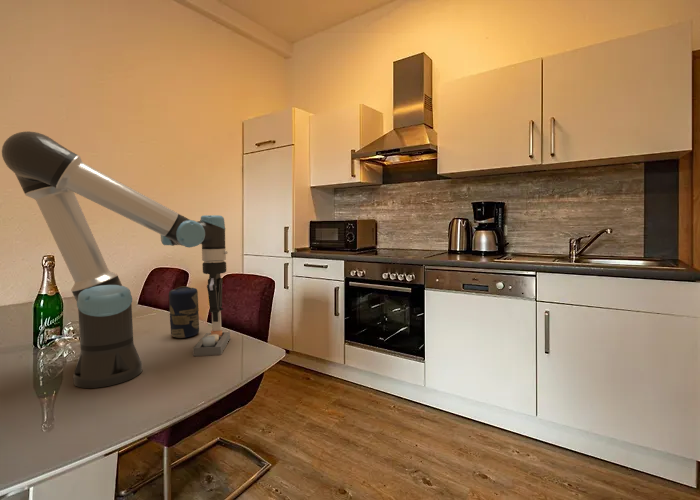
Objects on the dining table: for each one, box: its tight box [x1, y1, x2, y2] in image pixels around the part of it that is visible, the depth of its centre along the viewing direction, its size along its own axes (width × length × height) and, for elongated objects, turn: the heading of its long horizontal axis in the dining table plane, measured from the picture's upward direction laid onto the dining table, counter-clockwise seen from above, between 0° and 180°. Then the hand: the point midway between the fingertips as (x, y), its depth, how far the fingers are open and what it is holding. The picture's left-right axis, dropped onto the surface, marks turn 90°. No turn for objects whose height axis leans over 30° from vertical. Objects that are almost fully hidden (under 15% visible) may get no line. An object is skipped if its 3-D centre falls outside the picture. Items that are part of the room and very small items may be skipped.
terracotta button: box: [210, 329, 223, 336], centre depth 125 cm, size 4×4×2 cm
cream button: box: [208, 334, 219, 341], centre depth 120 cm, size 4×4×2 cm
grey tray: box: [192, 331, 231, 357], centre depth 120 cm, size 16×8×2 cm, turn 8°
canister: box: [168, 285, 200, 339], centre depth 132 cm, size 10×10×18 cm
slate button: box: [202, 336, 215, 347], centre depth 114 cm, size 4×4×2 cm
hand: (216, 330), depth 125 cm, fingers closed
